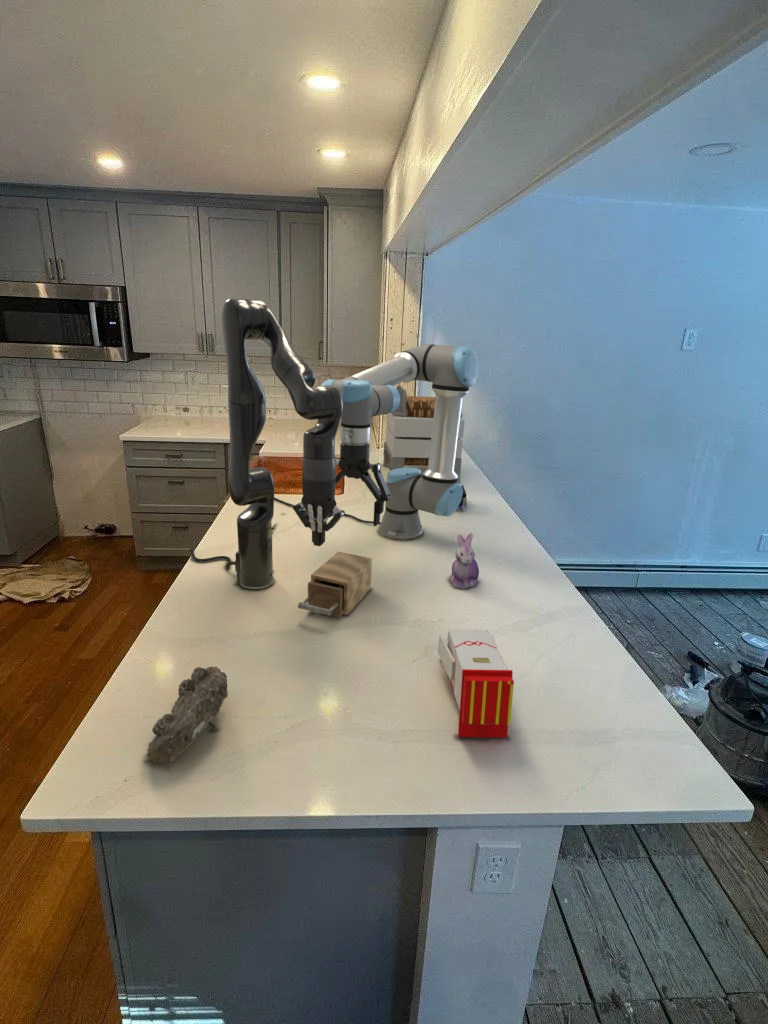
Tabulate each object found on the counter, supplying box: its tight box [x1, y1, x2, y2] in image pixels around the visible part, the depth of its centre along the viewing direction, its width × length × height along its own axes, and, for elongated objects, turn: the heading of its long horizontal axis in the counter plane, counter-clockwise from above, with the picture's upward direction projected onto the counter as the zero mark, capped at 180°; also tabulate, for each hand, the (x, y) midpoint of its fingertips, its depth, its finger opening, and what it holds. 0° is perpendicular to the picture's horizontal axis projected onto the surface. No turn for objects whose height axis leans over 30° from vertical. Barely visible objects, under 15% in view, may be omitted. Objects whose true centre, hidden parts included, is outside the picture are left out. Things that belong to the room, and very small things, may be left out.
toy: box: [437, 628, 515, 738], centre depth 117 cm, size 12×13×30 cm
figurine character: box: [457, 484, 468, 511], centre depth 230 cm, size 7×8×15 cm
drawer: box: [297, 580, 344, 617], centre depth 147 cm, size 21×9×7 cm, turn 159°
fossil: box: [146, 666, 229, 764], centre depth 104 cm, size 22×10×15 cm
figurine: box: [450, 532, 480, 589], centre depth 164 cm, size 9×10×15 cm
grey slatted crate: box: [383, 384, 465, 484], centre depth 268 cm, size 34×33×41 cm
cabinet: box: [310, 551, 373, 616], centre depth 153 cm, size 16×10×10 cm, turn 159°
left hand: (318, 544), depth 135 cm, fingers closed
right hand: (352, 520), depth 152 cm, fingers open, 13 cm apart
